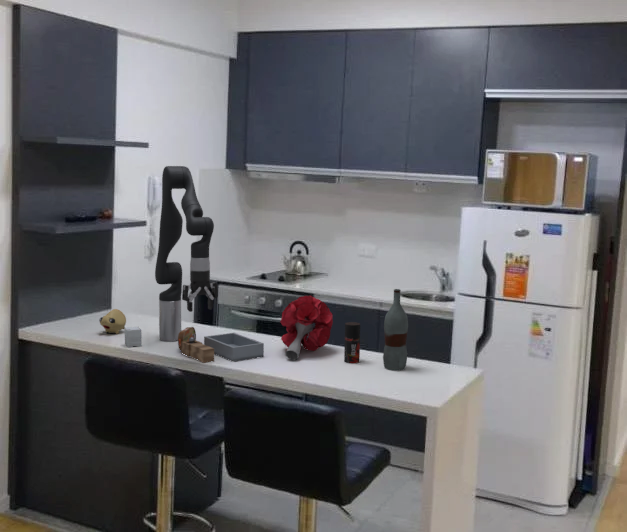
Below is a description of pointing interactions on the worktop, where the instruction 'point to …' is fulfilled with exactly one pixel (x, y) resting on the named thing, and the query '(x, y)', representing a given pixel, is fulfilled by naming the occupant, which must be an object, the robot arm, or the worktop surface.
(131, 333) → the skincare box
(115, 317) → the khaki toy head
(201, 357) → the brown segmented bar
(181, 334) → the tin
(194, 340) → the ball stud
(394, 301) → the bottle
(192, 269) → the robot arm
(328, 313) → the bouquet
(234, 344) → the bin
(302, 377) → the worktop surface
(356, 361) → the deodorant
